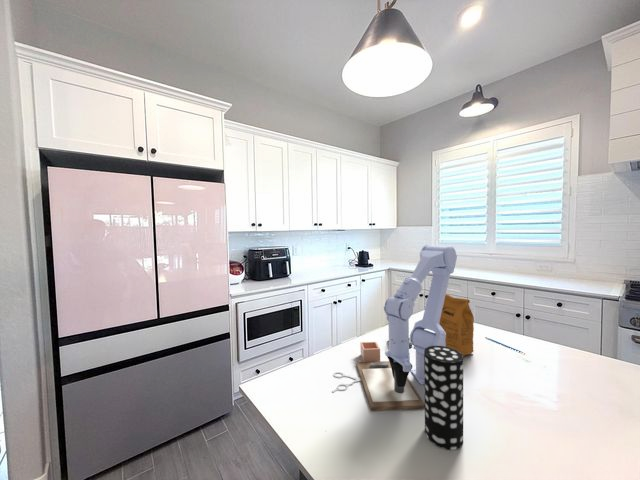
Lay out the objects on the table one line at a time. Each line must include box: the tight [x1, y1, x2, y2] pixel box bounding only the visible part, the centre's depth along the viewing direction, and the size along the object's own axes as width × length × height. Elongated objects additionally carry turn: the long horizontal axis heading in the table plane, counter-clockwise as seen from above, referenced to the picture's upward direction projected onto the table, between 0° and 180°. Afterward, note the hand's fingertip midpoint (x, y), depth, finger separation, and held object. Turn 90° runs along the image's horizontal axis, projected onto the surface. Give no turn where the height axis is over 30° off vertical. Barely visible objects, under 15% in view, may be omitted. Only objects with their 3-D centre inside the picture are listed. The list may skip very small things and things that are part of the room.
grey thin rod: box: [485, 336, 526, 355], centre depth 108 cm, size 1×17×1 cm, turn 19°
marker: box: [394, 360, 404, 393], centre depth 78 cm, size 3×3×9 cm
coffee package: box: [439, 292, 475, 357], centre depth 105 cm, size 10×12×22 cm
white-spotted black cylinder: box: [423, 346, 464, 451], centre depth 62 cm, size 8×8×20 cm
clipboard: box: [356, 360, 425, 412], centre depth 84 cm, size 15×24×2 cm, turn 1°
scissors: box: [331, 371, 362, 393], centre depth 86 cm, size 11×1×20 cm
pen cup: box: [360, 341, 381, 362], centre depth 100 cm, size 6×6×5 cm
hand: (399, 382), depth 78 cm, fingers closed on marker, 3 cm apart
